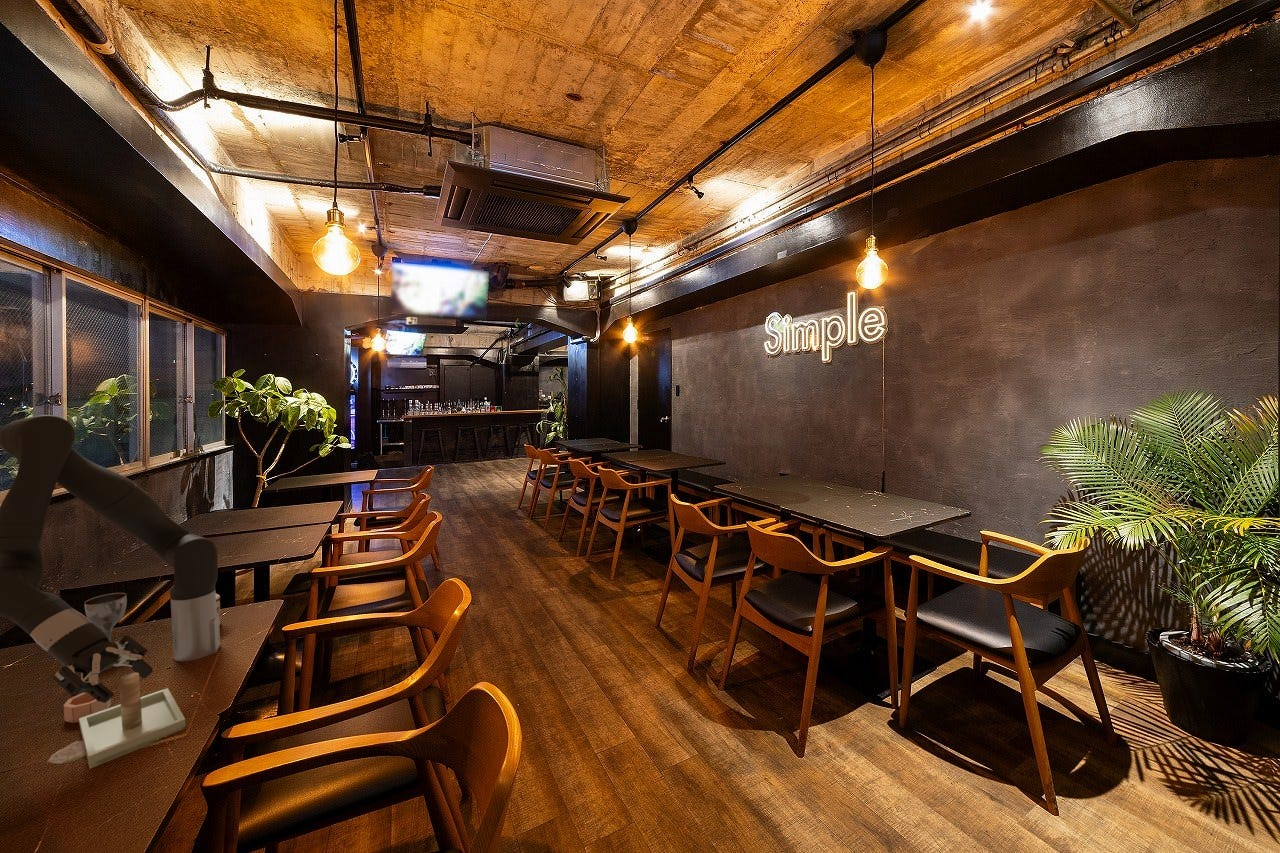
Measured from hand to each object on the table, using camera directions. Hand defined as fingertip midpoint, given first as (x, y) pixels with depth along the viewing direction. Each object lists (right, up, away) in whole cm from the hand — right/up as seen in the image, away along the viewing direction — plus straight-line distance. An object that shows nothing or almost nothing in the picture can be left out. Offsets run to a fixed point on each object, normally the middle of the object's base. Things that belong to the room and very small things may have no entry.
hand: (130, 686), depth 106 cm
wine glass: (-39, -7, +33) cm, 51 cm away
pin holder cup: (-15, -9, +5) cm, 18 cm away
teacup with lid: (-26, -6, +47) cm, 54 cm away
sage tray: (0, -10, +1) cm, 10 cm away
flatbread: (-4, -11, -6) cm, 13 cm away
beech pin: (0, -9, +1) cm, 9 cm away
